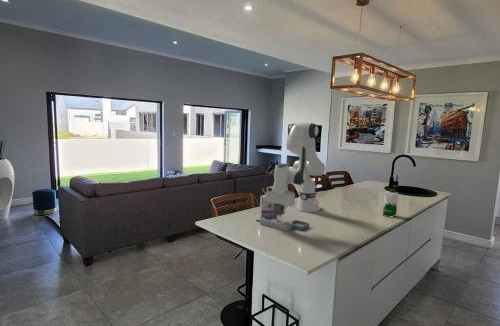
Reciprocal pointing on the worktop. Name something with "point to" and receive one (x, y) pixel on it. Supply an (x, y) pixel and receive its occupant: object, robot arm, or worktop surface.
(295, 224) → the felt tray
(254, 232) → the worktop surface
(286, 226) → the power strip
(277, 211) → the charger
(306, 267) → the worktop surface
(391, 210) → the milk carton
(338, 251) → the worktop surface
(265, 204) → the candy bar box
